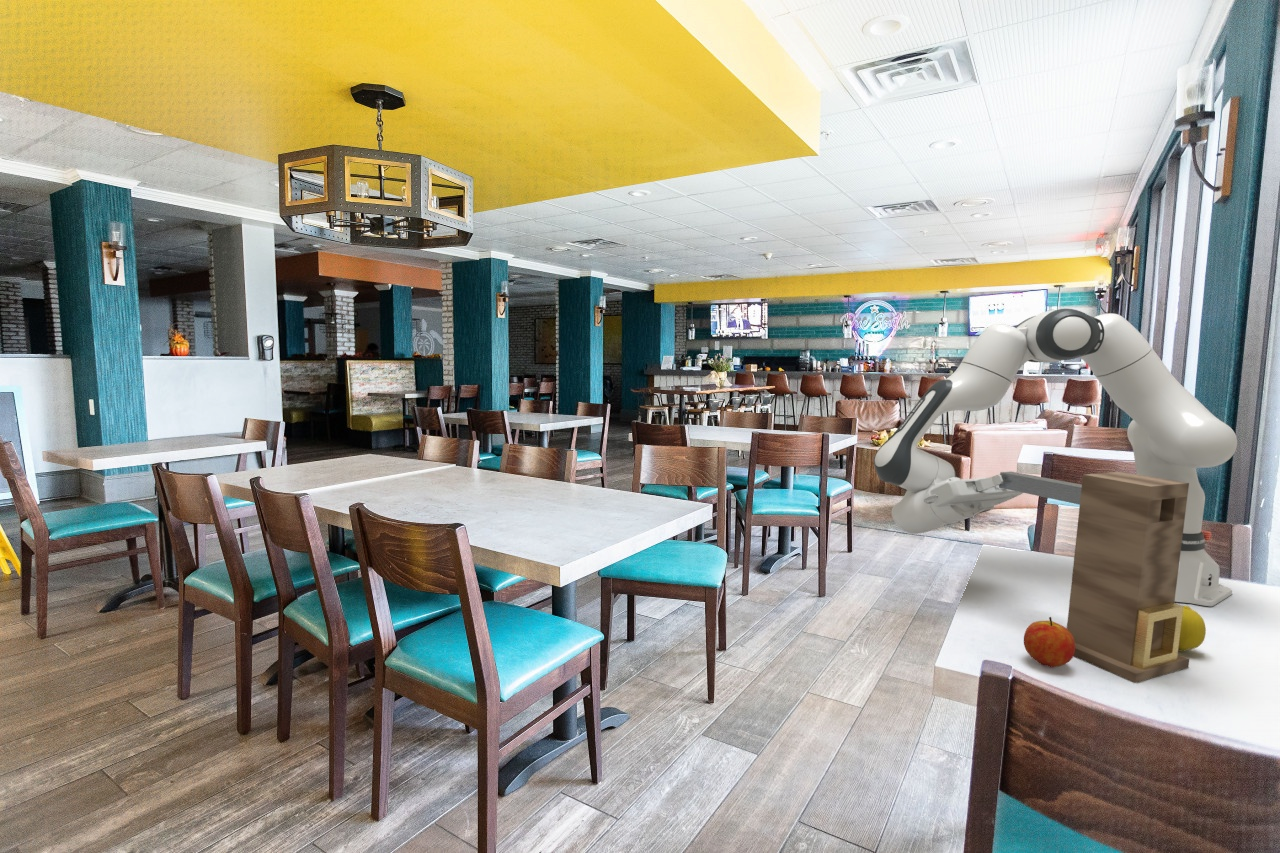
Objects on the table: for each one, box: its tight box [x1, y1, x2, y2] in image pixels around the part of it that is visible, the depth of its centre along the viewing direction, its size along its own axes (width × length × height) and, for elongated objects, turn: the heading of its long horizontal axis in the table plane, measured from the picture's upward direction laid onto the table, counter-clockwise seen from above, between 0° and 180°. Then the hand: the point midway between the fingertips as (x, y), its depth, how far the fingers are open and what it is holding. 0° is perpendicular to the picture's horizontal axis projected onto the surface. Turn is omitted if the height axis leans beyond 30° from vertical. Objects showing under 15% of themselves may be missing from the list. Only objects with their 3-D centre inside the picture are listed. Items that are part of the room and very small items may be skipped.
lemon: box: [1178, 605, 1207, 652], centre depth 108 cm, size 6×6×8 cm
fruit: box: [1023, 616, 1075, 668], centre depth 102 cm, size 7×7×8 cm
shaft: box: [999, 471, 1082, 506], centre depth 112 cm, size 3×24×3 cm, turn 23°
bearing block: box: [1066, 471, 1190, 684], centre depth 104 cm, size 14×14×30 cm
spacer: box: [1132, 602, 1185, 670], centre depth 100 cm, size 9×2×9 cm, turn 113°
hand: (1011, 477), depth 122 cm, fingers closed on shaft, 3 cm apart
